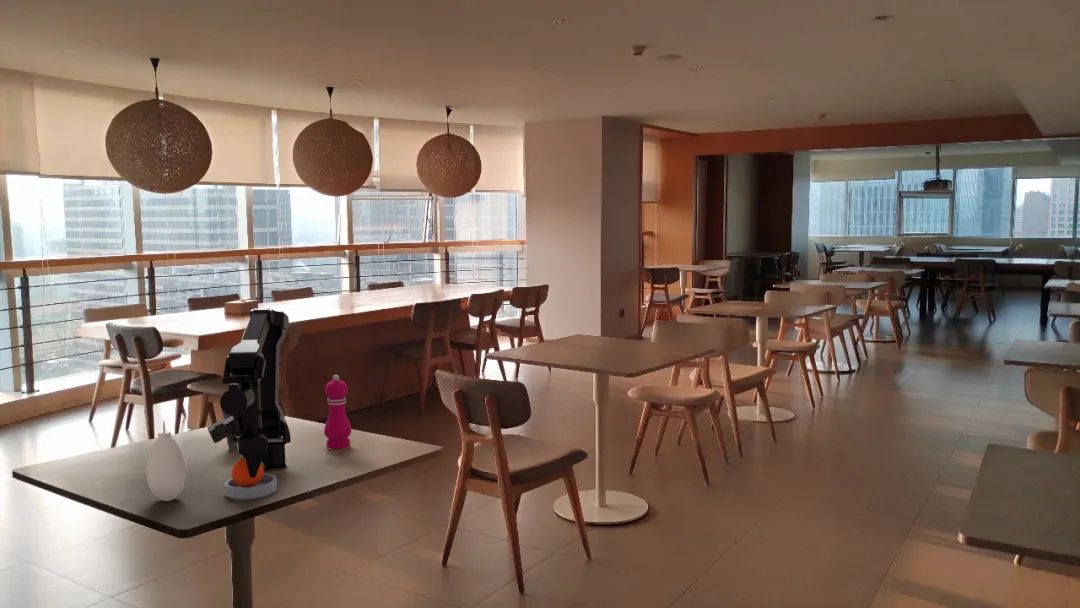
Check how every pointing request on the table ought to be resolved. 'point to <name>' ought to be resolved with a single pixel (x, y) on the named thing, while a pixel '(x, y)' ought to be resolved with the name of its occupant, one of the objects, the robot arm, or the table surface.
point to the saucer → (251, 488)
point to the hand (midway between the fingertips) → (250, 472)
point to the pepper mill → (337, 415)
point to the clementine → (245, 474)
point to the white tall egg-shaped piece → (166, 467)
